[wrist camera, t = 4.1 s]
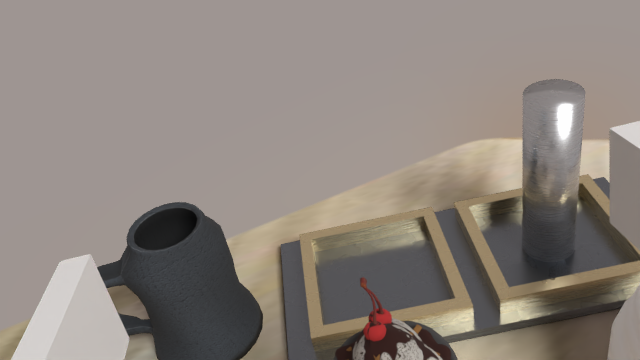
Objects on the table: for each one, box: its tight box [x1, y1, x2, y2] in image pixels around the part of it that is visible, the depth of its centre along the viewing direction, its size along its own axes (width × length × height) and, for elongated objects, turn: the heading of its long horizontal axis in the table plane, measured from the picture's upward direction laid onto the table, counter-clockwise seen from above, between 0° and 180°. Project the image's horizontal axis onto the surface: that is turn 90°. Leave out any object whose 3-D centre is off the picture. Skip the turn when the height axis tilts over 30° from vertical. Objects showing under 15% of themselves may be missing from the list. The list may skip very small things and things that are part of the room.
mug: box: [97, 202, 263, 360], centre depth 47 cm, size 12×9×11 cm
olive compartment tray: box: [281, 79, 640, 360], centre depth 47 cm, size 30×14×15 cm, turn 95°
